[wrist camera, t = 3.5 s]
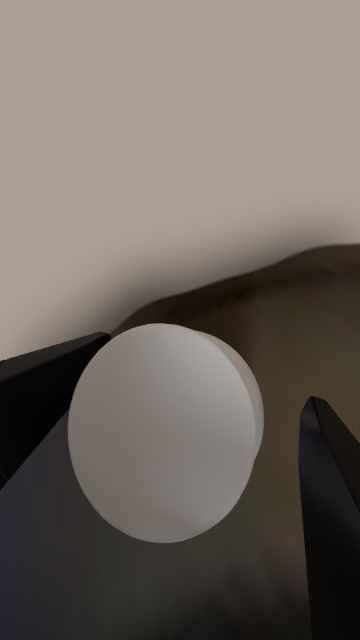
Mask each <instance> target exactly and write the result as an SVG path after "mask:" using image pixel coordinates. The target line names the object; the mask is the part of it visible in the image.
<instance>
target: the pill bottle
mask: <svg viewBox="0 0 360 640" xmlns="http://www.w3.org/2000/svg"><path fill="white" fill-rule="evenodd" d="M263 428H264V411H263V402H262V398H261V393H260V390H259V387H258V384H257V382H256V380H255V377H254V375H253V373H252V371H251V370H250V368H249V367H248V365H247V364H246V362H245V361H244V360H243V358H242V357H241V356H240V355H239V354H238V353H237V352H236V351H235V350H234V349H233V348H231V347H230V346H229V345H228V344H226V343H225V342H223V341H222V340H220V339H218V338H216V337H214V336H212V335H209V334H206V333H203V332H199V331H194V330H192V329H189V328H186V327H182V326H178V325H172V324H163V323H162V324H148V325H143V326H139V327H135V328H132V329H130V330H128V331H126V332H123V333H121V334H120V335H118V336H116V337H115V338H113V339H112V340H111V341H109V342H108V343H107V344H106V345H104V346H103V347H102V348H101V349H100V350H99V351H98V352H97V353H96V355H95V356H94V357H93V358H92V360H91V361H90V362H89V364H88V365H87V367H86V368H85V370H84V371H83V373H82V375H81V377H80V379H79V381H78V384H77V386H76V389H75V391H74V394H73V398H72V402H71V406H70V411H69V420H68V444H69V451H70V457H71V461H72V465H73V469H74V472H75V474H76V477H77V480H78V482H79V485H80V487H81V488H82V490H83V491H84V494H85V496H86V497H87V499H88V500H89V502H90V503H91V504H92V506H93V507H94V508H95V510H96V511H97V512H98V513H99V514H100V515H101V516H102V517H103V518H104V519H105V520H106V521H107V522H108V523H110V524H111V525H112V526H114V527H115V528H117V529H118V530H120V531H122V532H124V533H126V534H127V535H129V536H132V537H134V538H137V539H140V540H144V541H149V542H156V543H171V542H179V541H183V540H187V539H190V538H192V537H195V536H197V535H199V534H201V533H203V532H205V531H207V530H208V529H210V528H211V527H213V526H214V525H216V524H217V523H218V522H219V521H220V520H222V519H223V518H224V517H225V516H226V515H227V514H228V513H229V512H230V510H231V509H232V508H233V507H234V505H235V504H236V503H237V501H238V500H239V498H240V496H241V494H242V492H243V490H244V489H245V487H246V485H247V482H248V480H249V477H250V474H251V471H252V468H253V464H254V459H255V458H256V456H257V453H258V450H259V447H260V444H261V440H262V435H263Z"/></svg>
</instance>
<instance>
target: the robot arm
mask: <svg viewBox="0 0 360 640" xmlns="http://www.w3.org/2000/svg"><path fill="white" fill-rule="evenodd" d="M109 341H111V338H110V335H109V334H108V333H104V332H97V333H94V334H91V335H87V336H84V337H80V338H77V339H74V340H70V341H67V342H63V343H60V344H57V345H53V346H50V347H46V348H43V349H40V350H37V351H33V352H30V353H26V354H23V355H19V356H16V357H13V358H9V359H7V360H2V361H0V490H1V489H2V488H3V487H4V485H5V484H6V482H7V481H8V480H9V479H10V478H11V477H12V476H13V474H14V473H15V472H16V471H17V470H18V469H19V467H20V466H21V465H22V464H23V463H24V461H25V460H26V459H27V458H28V457H29V455H30V454H31V453H32V452H33V451H34V449H35V448H36V447H37V446H38V445H39V444H40V442H41V441H42V440H43V439H44V438H45V436H46V435H47V434H48V433H49V432H50V430H51V429H52V428H53V427H54V426H55V424H56V423H57V422H58V421H59V420H60V419H61V417H62V416H63V415H64V414H65V413H66V411H67V410H68V409H69V408H70V406H71V402H72V398H73V394H74V391H75V389H76V386H77V384H78V381H79V379H80V377H81V375H82V373H83V371H84V370H85V368H86V367H87V365H88V364H89V362H90V361H91V360H92V358H93V357H94V356H95V355H96V353H97V352H98V351H99V350H100V349H101V348H102V347H103V346H104V345H106V344H107V343H108V342H109ZM298 465H299V480H300V493H301V505H302V518H303V530H304V542H305V555H306V567H307V579H308V592H309V604H310V616H311V629H312V640H360V443H359V442H358V441H357V440H356V438H355V437H354V436H353V435H352V433H351V432H350V431H349V429H348V428H347V427H346V426H345V424H344V423H343V422H342V421H341V419H340V418H339V417H338V415H337V414H336V413H335V412H334V410H333V409H332V408H331V406H330V405H329V404H328V403H327V402H326V401H325V400H324V399H320V398H317V397H314V396H311V397H309V399H308V400H307V402H306V404H305V406H304V408H303V410H302V412H301V415H300V432H299V460H298Z"/></svg>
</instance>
